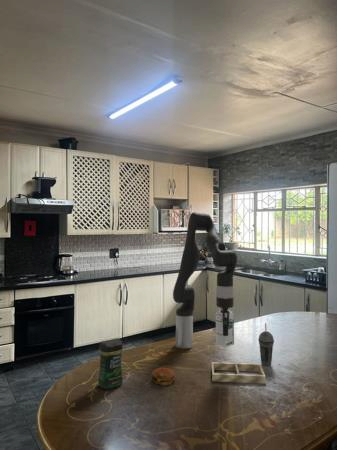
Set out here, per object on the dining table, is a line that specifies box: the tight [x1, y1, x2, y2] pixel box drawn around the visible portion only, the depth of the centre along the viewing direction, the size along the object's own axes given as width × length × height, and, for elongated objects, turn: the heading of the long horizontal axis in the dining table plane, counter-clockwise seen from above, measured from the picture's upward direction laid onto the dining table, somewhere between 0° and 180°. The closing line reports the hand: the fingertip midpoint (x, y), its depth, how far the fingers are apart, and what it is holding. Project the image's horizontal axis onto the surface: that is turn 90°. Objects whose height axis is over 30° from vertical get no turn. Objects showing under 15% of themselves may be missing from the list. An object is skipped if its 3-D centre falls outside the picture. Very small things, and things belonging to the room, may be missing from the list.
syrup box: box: [215, 310, 235, 348], centre depth 153 cm, size 6×6×14 cm
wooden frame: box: [211, 361, 267, 384], centre depth 152 cm, size 22×13×3 cm, turn 84°
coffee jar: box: [97, 337, 124, 390], centre depth 143 cm, size 10×8×19 cm
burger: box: [151, 367, 176, 386], centre depth 147 cm, size 10×9×5 cm
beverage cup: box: [257, 322, 275, 367], centre depth 164 cm, size 7×7×20 cm
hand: (224, 332), depth 153 cm, fingers closed on syrup box, 8 cm apart
